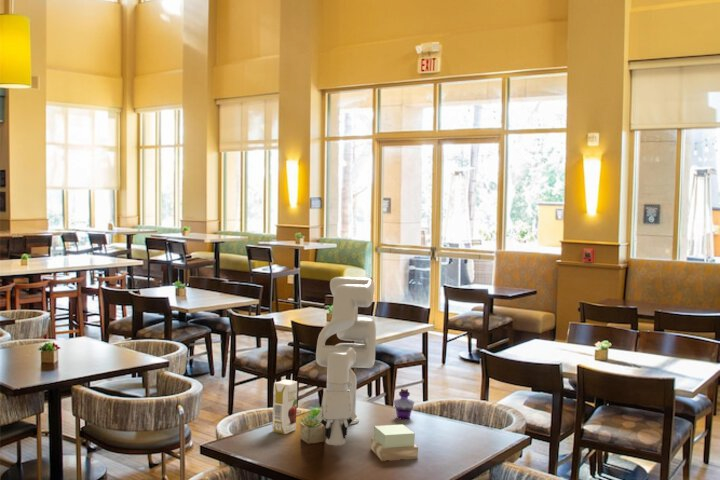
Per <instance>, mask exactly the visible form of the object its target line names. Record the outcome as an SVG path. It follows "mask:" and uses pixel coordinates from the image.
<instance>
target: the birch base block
mask: <svg viewBox="0 0 720 480" xmlns="http://www.w3.org/2000/svg"><path fill="white" fill-rule="evenodd" d="M370 439H371V442H370V443H371V444H370V449H371V450H372V452H373V453H374V454H375V455H376V456H377V458H379V459H380V461H381V462H384V461H385V462H387V461H386V460H389V461H401V460H400V459H405V460H418V457H419V447H418V446H417V445H416V444H415V443H414V446H408V447H393V448H384V447H383V446H382V445H381V444H380V443H378V442H377V441H376V440H375V439H374V437H371V438H370ZM415 458H417V459H415Z"/></svg>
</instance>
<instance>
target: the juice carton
mask: <svg viewBox="0 0 720 480" xmlns="http://www.w3.org/2000/svg"><path fill="white" fill-rule="evenodd" d="M272 396H273V397H272V398H273V399H272V432H273V433H277V434H283V435H287V434H290V433H292V432H294V431H296V428H297V413H298V412H297V408H298V407H297V406H298V405H297V404H298V403H297V401H298V381H297V380H296V381H295V380H292V379H285V378H284V379H282V380H279V381H275V382H273V395H272Z"/></svg>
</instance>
